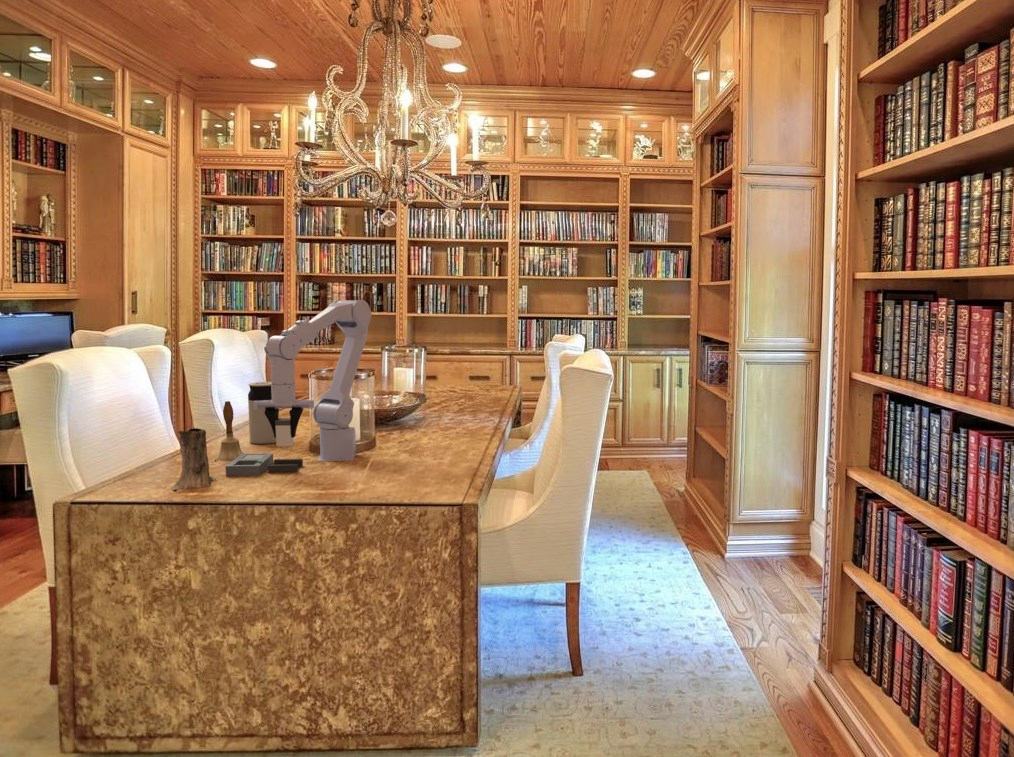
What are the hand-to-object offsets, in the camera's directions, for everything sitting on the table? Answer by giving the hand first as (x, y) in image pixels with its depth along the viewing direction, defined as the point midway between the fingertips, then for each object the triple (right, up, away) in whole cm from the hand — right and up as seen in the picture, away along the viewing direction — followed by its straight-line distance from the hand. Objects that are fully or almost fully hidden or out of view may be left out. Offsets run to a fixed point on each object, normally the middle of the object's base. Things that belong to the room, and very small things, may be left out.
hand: (285, 437), depth 182 cm
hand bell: (-19, -7, +14) cm, 25 cm away
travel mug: (-18, -5, +37) cm, 42 cm away
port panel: (-9, -9, +1) cm, 13 cm away
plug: (0, -2, 0) cm, 2 cm away
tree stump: (-17, -11, -13) cm, 24 cm away
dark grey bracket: (0, -9, +1) cm, 9 cm away
